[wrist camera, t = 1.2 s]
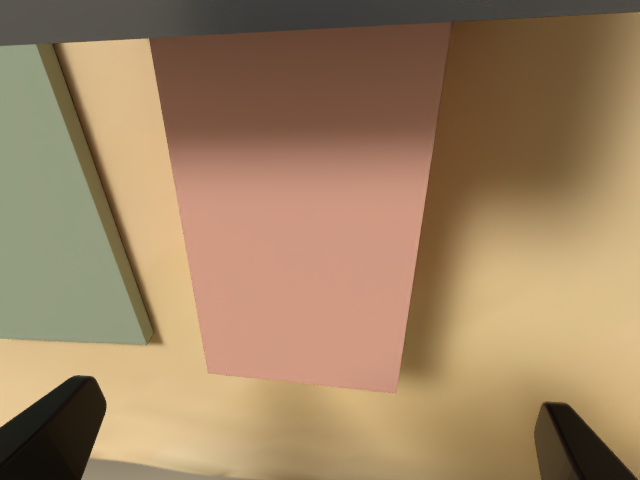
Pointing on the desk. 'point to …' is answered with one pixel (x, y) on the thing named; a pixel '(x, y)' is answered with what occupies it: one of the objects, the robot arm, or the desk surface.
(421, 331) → the desk surface
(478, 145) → the desk surface
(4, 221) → the green block
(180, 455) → the desk surface
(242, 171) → the pink block
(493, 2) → the dispenser
